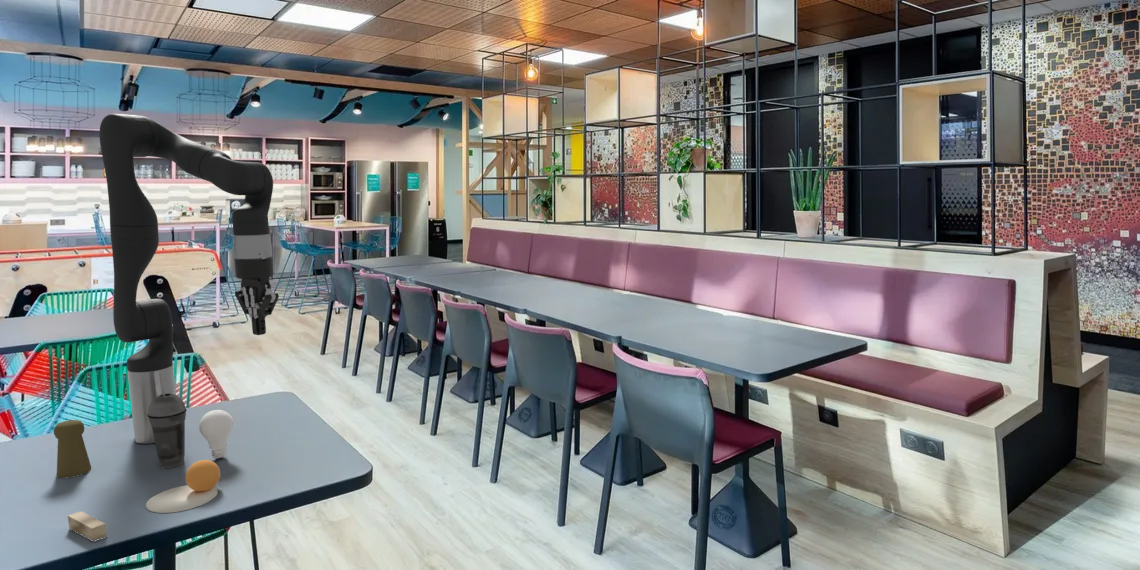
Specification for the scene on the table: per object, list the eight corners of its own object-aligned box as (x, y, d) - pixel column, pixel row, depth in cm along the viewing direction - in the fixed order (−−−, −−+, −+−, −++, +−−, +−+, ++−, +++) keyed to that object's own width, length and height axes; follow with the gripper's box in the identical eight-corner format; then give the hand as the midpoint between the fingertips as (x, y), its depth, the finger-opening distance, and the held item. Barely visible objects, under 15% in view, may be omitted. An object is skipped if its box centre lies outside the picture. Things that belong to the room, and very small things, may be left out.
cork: (98, 468, 148) (92, 418, 146) (70, 479, 142) (63, 427, 140) (78, 464, 149) (72, 415, 148) (49, 475, 144) (43, 425, 142)
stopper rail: (69, 529, 121) (67, 515, 120) (82, 524, 122) (80, 511, 122) (93, 542, 116) (92, 528, 115) (106, 537, 118) (105, 523, 117)
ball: (214, 468, 140) (195, 495, 137) (193, 452, 137) (172, 479, 133) (232, 471, 137) (213, 499, 134) (211, 455, 134) (190, 483, 130)
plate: (133, 503, 130) (133, 502, 130) (196, 480, 140) (196, 479, 140) (167, 518, 124) (167, 517, 124) (230, 493, 134) (230, 492, 134)
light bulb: (222, 465, 148) (217, 416, 146) (195, 463, 149) (190, 414, 148) (242, 454, 154) (238, 406, 153) (216, 452, 155) (212, 405, 154)
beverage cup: (164, 473, 144) (154, 380, 141) (145, 466, 148) (136, 375, 145) (198, 461, 150) (190, 372, 147) (179, 455, 154) (171, 368, 151)
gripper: (219, 256, 149) (225, 334, 152) (255, 258, 142) (262, 340, 145) (251, 253, 156) (257, 328, 158) (287, 255, 148) (293, 334, 151)
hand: (259, 334), depth 151 cm, fingers closed
